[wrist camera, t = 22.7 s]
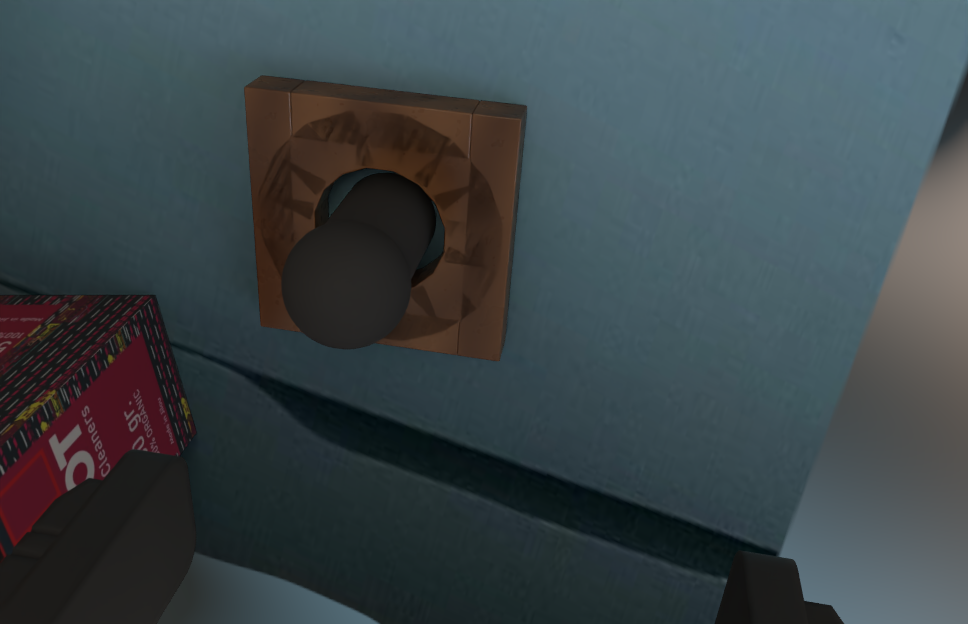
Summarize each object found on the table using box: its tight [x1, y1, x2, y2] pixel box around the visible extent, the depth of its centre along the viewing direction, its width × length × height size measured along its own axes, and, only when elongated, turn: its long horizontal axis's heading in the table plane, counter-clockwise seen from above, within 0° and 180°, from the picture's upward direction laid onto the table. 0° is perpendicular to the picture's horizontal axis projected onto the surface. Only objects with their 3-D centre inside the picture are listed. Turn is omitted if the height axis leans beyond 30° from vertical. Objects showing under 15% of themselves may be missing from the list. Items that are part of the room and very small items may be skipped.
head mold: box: [281, 173, 436, 349], centre depth 38 cm, size 5×5×10 cm
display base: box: [244, 75, 527, 361], centre depth 41 cm, size 12×12×2 cm
